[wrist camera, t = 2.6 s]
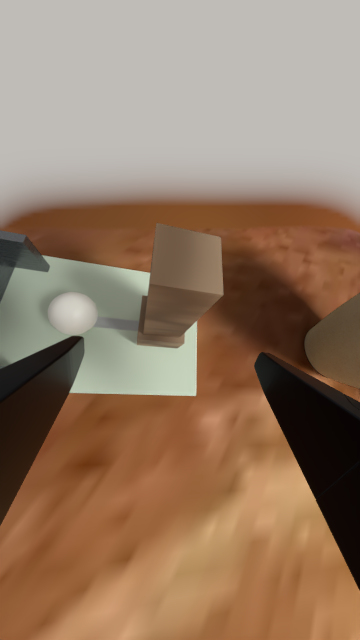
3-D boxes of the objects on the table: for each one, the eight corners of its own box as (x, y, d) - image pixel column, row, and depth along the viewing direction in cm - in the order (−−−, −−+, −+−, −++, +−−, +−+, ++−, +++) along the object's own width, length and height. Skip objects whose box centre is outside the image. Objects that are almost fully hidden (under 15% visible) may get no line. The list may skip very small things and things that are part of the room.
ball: (109, 321, 19) (102, 307, 15) (75, 347, 17) (59, 338, 14) (84, 295, 19) (72, 275, 15) (49, 318, 18) (26, 302, 14)
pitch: (195, 283, 24) (197, 280, 23) (193, 395, 19) (196, 395, 18) (16, 255, 20) (11, 250, 19) (-40, 389, 15) (-50, 389, 14)
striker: (179, 311, 21) (228, 231, 10) (177, 348, 19) (233, 306, 8) (141, 306, 20) (147, 212, 9) (136, 345, 18) (136, 292, 7)
